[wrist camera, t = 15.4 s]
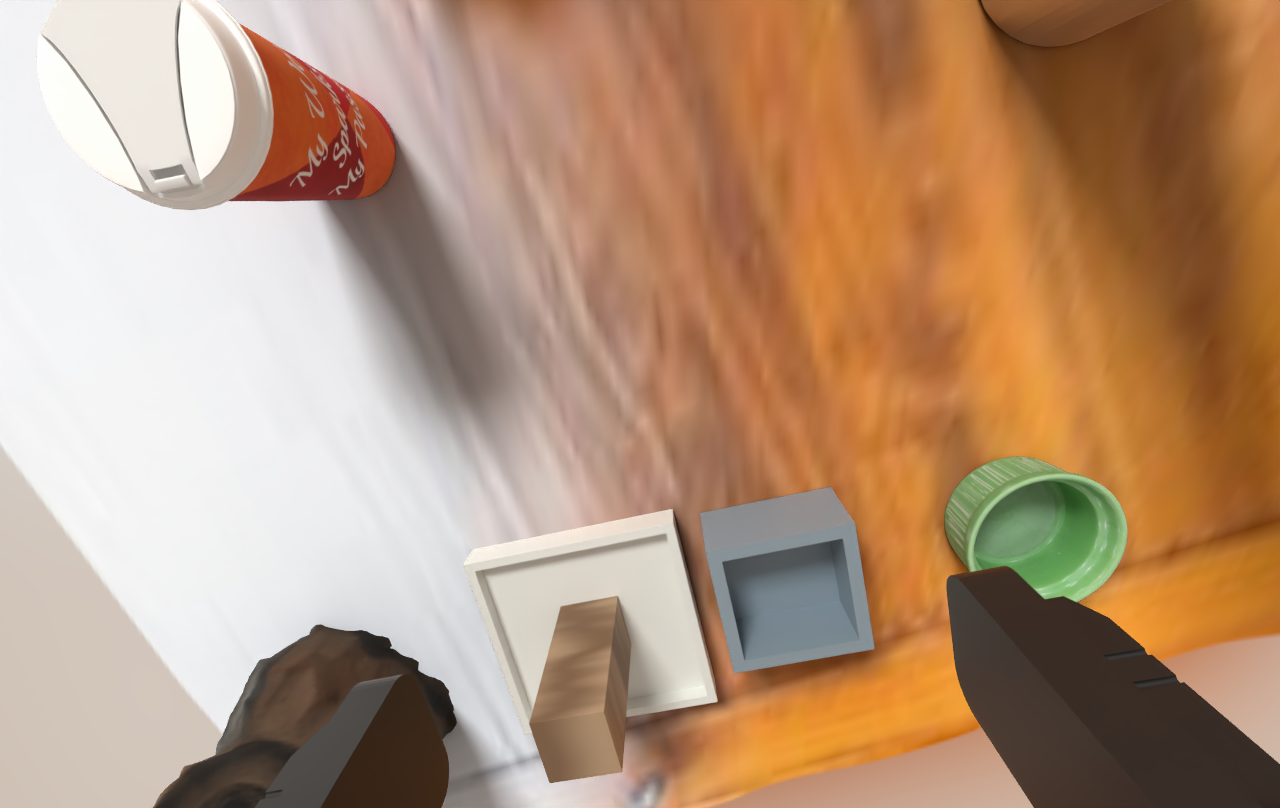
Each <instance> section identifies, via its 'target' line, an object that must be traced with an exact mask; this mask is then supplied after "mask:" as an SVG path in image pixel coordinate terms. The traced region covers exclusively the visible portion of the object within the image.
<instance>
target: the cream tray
mask: <svg viewBox="0 0 1280 808" xmlns="http://www.w3.org/2000/svg"><path fill="white" fill-rule="evenodd" d="M463 566H464V569H465V572H466V574H467V577H468V580H469V583H470V585H471V588H472V591H473V594H474V596H475V599H476V602H477V605H478V607H479V610H480V613H481V616H482V618H483V621H484V624H485V627H486V629H487V632H488V635H489V638H490V640H491V643H492V646H493V649H494V651H495V654H496V657H497V660H498V662H499V665H500V668H501V671H502V673H503V676H504V679H505V682H506V684H507V687H508V690H509V693H510V696H511V698H512V701H513V704H514V707H515V709H516V712H517V715H518V718H519V720H520V723H521V726H522V729H523V731H524V734H531V733H532V731H531V728H530V725H529V722H530V719H531V715H532V711H533V708H534V704H535V700H536V696H537V693H538V689H539V685H540V681H541V678H542V674H543V670H544V667H545V663H546V659H547V655H548V652H549V648H550V644H551V641H552V637H553V633H554V629H555V626H556V622H557V618H558V614H559V611H560V607H561V606H565V605H570V604H576V603H581V602H587V601H592V600H598V599H603V598H608V597H614V596H618V599H619V603H620V606H621V610H622V613H623V617H624V621H625V624H626V628H627V631H628V635H629V639H630V642H631V656H630V670H629V684H628V698H627V712H626V717H631V716H637V715H643V714H649V713H655V712H661V711H667V710H673V709H679V708H684V707H690V706H696V705H702V704H708V703H714V702H718V701H717V692H716V684H715V678H714V674H713V670H712V666H711V662H710V658H709V654H708V650H707V646H706V642H705V638H704V634H703V630H702V626H701V622H700V618H699V614H698V610H697V606H696V601H695V597H694V593H693V589H692V585H691V581H690V577H689V573H688V569H687V565H686V561H685V557H684V553H683V549H682V545H681V541H680V537H679V533H678V529H677V525H676V521H675V516H674V512H673V509H669V510H664V511H659V512H654V513H649V514H645V515H640V516H635V517H630V518H625V519H620V520H615V521H610V522H605V523H600V524H595V525H590V526H585V527H581V528H576V529H571V530H566V531H561V532H556V533H551V534H546V535H541V536H536V537H531V538H526V539H522V540H517V541H512V542H507V543H502V544H497V545H492V546H487V547H482V548H477V549H473V550H472V551H471V553H470V555H469V556H468V558H467V560H466V561H465V563H464V565H463Z"/></svg>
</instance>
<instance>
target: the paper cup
mask: <svg viewBox="0 0 1280 808" xmlns="http://www.w3.org/2000/svg"><path fill="white" fill-rule="evenodd" d="M37 67H38V77H39V82H40V87H41V92H42V94H43V97H44V100H45V103H46V106H47V109H48V111H49V113H50V115H51V117H52V119H53V121H54V123H55V125H56V127H57V128H58V130H59V131H60V133H61V135H62V136H63V138H64V139H65V141H66V142H67V143H68V144H69V145H70V147H71V148H72V149H73V150H74V151H75V153H76V154H77V155H78V156H79V157H80V158H81V159H82V160H84V161H85V162H86V163H87V164H88V165H89V166H90V167H91V168H93V169H94V170H95V171H97V172H98V173H99V174H101V175H102V176H103V177H105V178H107V179H108V180H110V181H112V182H114V183H116V184H117V185H119V186H121V187H124V188H125V189H126V190H128V191H129V192H131V193H133V194H135V195H137V196H138V197H140V198H142V199H144V200H147V201H149V202H152V203H154V204H157V205H160V206H164V207H169V208H173V209H184V210H197V209H206V208H210V207H213V206H217V205H220V204H223V203H225V202H227V201H310V200H348V199H358V198H363V197H366V196H369V195H372V194H373V193H375V192H377V191H378V190H379V189H381V188H382V187H383V186H384V185H385V183H386V182H387V181H388V179H389V178H390V176H391V174H392V171H393V168H394V164H395V156H396V150H395V142H394V138H393V134H392V132H391V129H390V127H389V125H388V123H387V122H386V120H385V118H384V117H383V116H382V114H381V113H380V112H379V111H378V110H377V109H376V108H375V107H374V106H373V105H372V104H370V103H369V102H368V101H366V100H365V99H364V98H362V97H361V96H359V95H357V94H356V93H354V92H353V91H351V90H350V89H348V88H346V87H345V86H343V85H342V84H340V83H338V82H337V81H335V80H333V79H332V78H330V77H328V76H327V75H325V74H323V73H322V72H320V71H318V70H317V69H315V68H313V67H312V66H310V65H308V64H307V63H305V62H303V61H302V60H300V59H298V58H297V57H295V56H293V55H292V54H290V53H288V52H287V51H285V50H283V49H281V48H280V47H278V46H276V45H275V44H273V43H271V42H270V41H268V40H266V39H265V38H263V37H261V36H260V35H258V34H256V33H254V32H253V31H251V30H249V29H248V28H246V27H244V26H243V25H241V24H239V23H238V22H237V21H236V20H235V19H234V18H233V16H232V15H231V14H230V13H229V12H228V11H227V10H226V9H225V8H224V7H223V6H221V5H220V4H219V3H218V2H217V1H215V0H59V1H58V2H57V4H56V5H55V7H54V8H53V10H52V12H51V13H50V15H49V17H48V19H47V21H46V23H45V25H44V27H43V29H42V31H41V34H40V36H39V40H38V50H37Z"/></svg>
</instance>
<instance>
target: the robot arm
mask: <svg viewBox="0 0 1280 808" xmlns="http://www.w3.org/2000/svg"><path fill="white" fill-rule="evenodd" d="M1170 1H1172V0H981V2H982V4H983V7H984V9H985V10H986V12H987V13H988V15H989V16H990V17H991V19H992V20H993V22H994V23H995V24H996V25H997V26H998V27H999V28H1001V29H1002V30H1003V31H1004V32H1005V33H1006V34H1008V35H1009V36H1011V37H1013V38H1015V39H1017V40H1019V41H1021V42H1023V43H1025V44H1030V45H1035V46H1041V47H1056V46H1065V45H1069V44H1073V43H1076V42H1080V41H1083V40H1085V39H1088V38H1090V37H1092V36H1094V35H1096V34H1098V33H1101V32H1103V31H1105V30H1107V29H1109V28H1112V27H1114V26H1116V25H1118V24H1120V23H1123V22H1125V21H1127V20H1129V19H1131V18H1134V17H1136V16H1138V15H1141V14H1143V13H1145V12H1147V11H1150V10H1152V9H1154V8H1156V7H1159V6H1161V5H1163V4H1165V3H1167V2H1170ZM947 598H948V607H949V616H950V624H951V633H952V642H953V651H954V660H955V667H956V672H957V676H958V680H959V683H960V686H961V689H962V691H963V694H964V696H965V699H966V701H967V703H968V705H969V707H970V709H971V711H972V713H973V714H974V716H975V718H976V719H977V721H978V722H979V724H980V725H981V727H982V728H983V730H984V732H985V733H986V735H987V736H988V738H989V739H990V740H991V742H992V744H993V745H994V747H995V748H996V750H997V752H998V753H999V754H1000V756H1001V758H1002V759H1003V761H1004V762H1005V764H1006V765H1007V767H1008V768H1009V770H1010V771H1011V773H1012V774H1013V776H1014V778H1015V779H1016V781H1017V782H1018V784H1019V785H1020V787H1021V788H1022V790H1023V791H1024V793H1025V795H1026V796H1027V798H1028V799H1029V801H1030V802H1031V804H1032V805H1033V807H1034V808H1280V764H1279V763H1278V762H1276V761H1275V760H1274V759H1273V758H1272V757H1271V756H1269V755H1268V754H1267V753H1266V752H1265V751H1264V750H1263V749H1261V748H1260V747H1259V746H1258V745H1257V744H1255V743H1254V742H1253V741H1252V740H1251V739H1250V738H1249V737H1247V736H1246V735H1245V734H1244V733H1243V732H1242V731H1240V730H1239V729H1238V728H1237V727H1236V726H1235V725H1233V724H1232V723H1231V722H1229V720H1228V719H1226V718H1225V717H1224V716H1223V715H1221V714H1220V713H1219V712H1218V711H1217V710H1216V709H1215V708H1213V707H1212V706H1211V705H1210V704H1209V703H1208V702H1207V701H1205V700H1204V699H1203V698H1202V697H1201V696H1199V695H1198V694H1197V693H1196V692H1195V691H1194V690H1192V689H1191V688H1190V687H1189V686H1188V685H1187V684H1185V683H1184V682H1183V683H1180V682H1179V681H1178V680H1177V678H1176V675H1175V674H1174V673H1173V672H1171V671H1170V670H1169V669H1168V668H1167V667H1165V666H1164V665H1163V664H1162V663H1161V662H1160V661H1159V660H1157V659H1156V658H1155V657H1154V656H1153V655H1147V653H1146V652H1145V648H1143V647H1142V646H1141V645H1140V644H1139V643H1138V642H1136V641H1135V640H1134V639H1133V638H1132V637H1131V636H1129V635H1128V634H1127V633H1126V632H1125V631H1124V630H1122V629H1121V628H1120V627H1119V626H1118V625H1117V624H1115V623H1114V622H1113V621H1112V620H1111V619H1110V618H1108V617H1106V616H1104V615H1102V614H1100V613H1098V612H1096V611H1094V610H1092V609H1089V608H1087V607H1085V606H1083V605H1081V604H1079V603H1077V602H1075V601H1073V600H1071V599H1069V598H1067V597H1065V596H1060V597H1055V598H1049V599H1044V598H1043V597H1042V596H1041V595H1040V594H1039V593H1038V592H1037V591H1036V590H1035V589H1033V588H1032V587H1031V586H1030V585H1029V584H1028V583H1027V582H1026V581H1025V580H1024V579H1023V578H1022V577H1021V576H1020V575H1019V574H1018V573H1017V572H1016V571H1014V570H1013V569H1012V568H1010V567H1008V566H1000V567H995V568H989V569H984V570H978V571H973V572H967V573H962V574H957V575H951V576H949V577H948V579H947ZM448 780H449V763H448V756H447V752H446V749H445V746H444V744H443V741H442V739H441V737H440V734H439V732H438V729H437V727H436V724H435V722H434V720H433V717H432V715H431V712H430V710H429V707H428V705H427V703H426V700H425V698H424V695H423V693H422V690H421V688H420V686H419V684H418V682H417V680H416V679H415V678H414V677H413V676H412V675H410V674H403V675H397V676H392V677H386V678H381V679H375V680H370V681H364V682H360V683H358V684H356V685H355V686H354V687H353V688H352V689H351V691H350V692H349V693H348V695H347V696H346V698H345V699H344V701H343V702H342V704H341V705H340V707H339V708H338V710H337V711H336V713H335V714H334V716H333V717H332V718H331V720H330V721H329V723H328V724H326V725H324V726H323V727H322V728H321V729H319V730H318V731H317V732H316V733H315V734H314V735H313V736H312V737H311V738H310V739H309V740H308V741H307V742H306V743H305V744H304V745H303V746H302V747H300V748H299V749H298V750H297V751H296V752H295V753H294V754H293V755H292V756H291V757H290V758H289V760H288V761H287V763H286V764H285V766H284V767H283V768H282V770H281V771H280V773H279V774H278V775H277V777H276V778H275V780H274V781H273V782H272V784H271V785H270V787H269V788H268V790H267V791H266V797H265V799H261V800H260V801H259V802H258V804H257V805H256V806H255V808H441V807H442V804H443V802H444V799H445V796H446V792H447V787H448Z"/></svg>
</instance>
